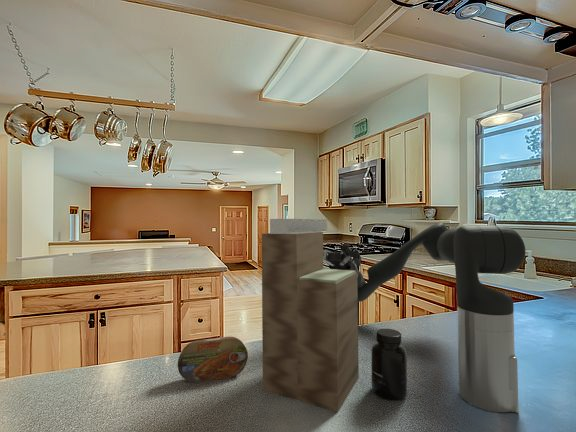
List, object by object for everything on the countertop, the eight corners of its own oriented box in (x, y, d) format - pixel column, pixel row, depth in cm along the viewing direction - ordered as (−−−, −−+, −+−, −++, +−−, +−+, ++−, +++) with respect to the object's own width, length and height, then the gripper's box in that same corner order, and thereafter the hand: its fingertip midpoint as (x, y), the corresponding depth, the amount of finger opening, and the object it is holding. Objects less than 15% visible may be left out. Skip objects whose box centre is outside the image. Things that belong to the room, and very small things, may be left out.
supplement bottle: (368, 396, 61) (367, 334, 61) (375, 380, 67) (374, 324, 67) (405, 405, 58) (403, 340, 58) (409, 388, 64) (408, 329, 64)
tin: (177, 385, 66) (177, 345, 66) (178, 378, 69) (178, 339, 69) (248, 375, 70) (248, 337, 70) (246, 369, 73) (246, 333, 73)
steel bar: (327, 231, 81) (326, 219, 81) (287, 233, 61) (287, 218, 62) (312, 230, 83) (312, 219, 83) (269, 233, 63) (269, 218, 63)
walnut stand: (358, 377, 68) (356, 232, 69) (337, 412, 56) (335, 234, 57) (293, 363, 76) (292, 231, 77) (262, 390, 63) (261, 233, 64)
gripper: (365, 281, 94) (351, 259, 82) (321, 278, 101) (302, 257, 89) (367, 258, 98) (355, 234, 86) (325, 256, 105) (307, 234, 92)
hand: (328, 246), depth 87 cm, fingers open, 8 cm apart
